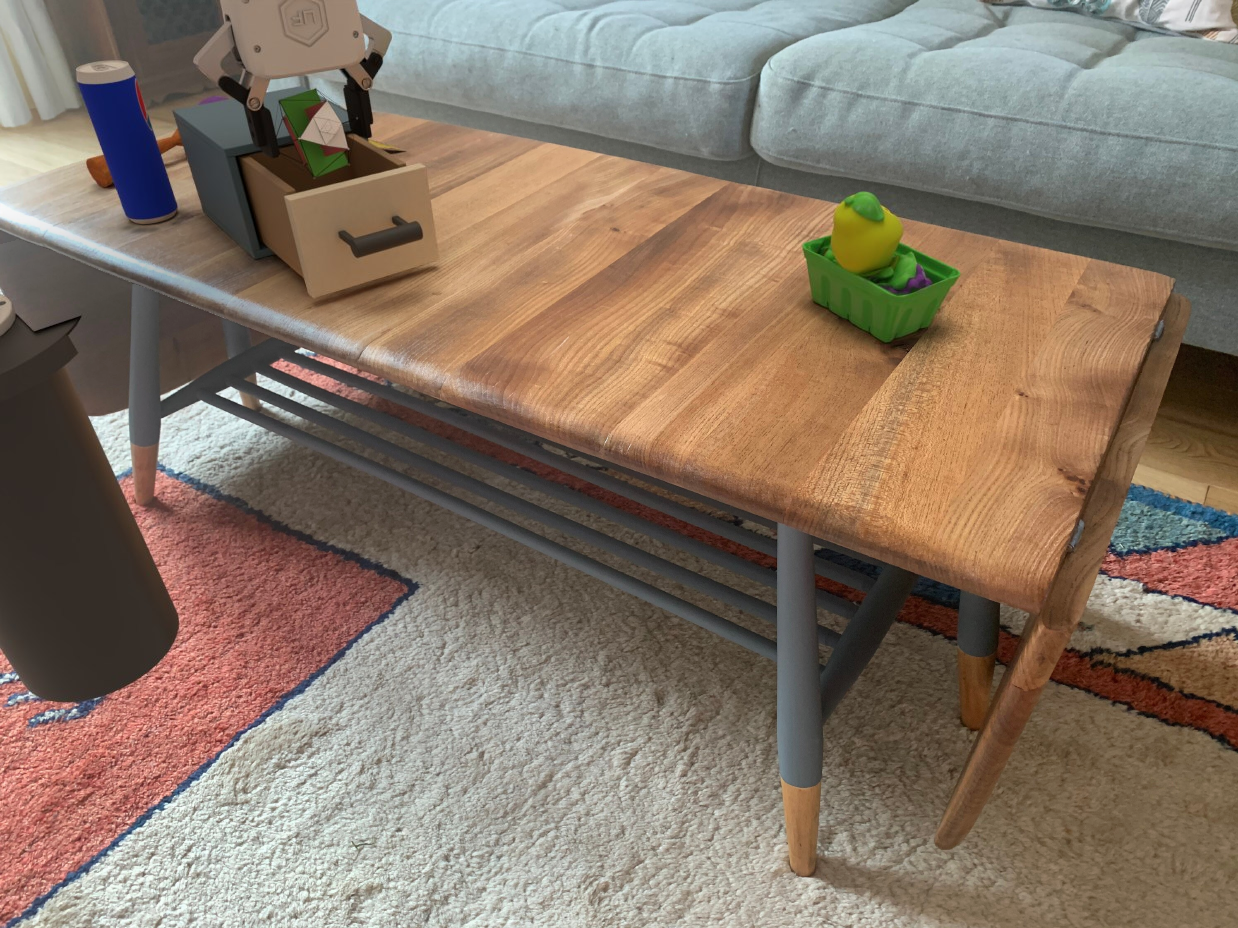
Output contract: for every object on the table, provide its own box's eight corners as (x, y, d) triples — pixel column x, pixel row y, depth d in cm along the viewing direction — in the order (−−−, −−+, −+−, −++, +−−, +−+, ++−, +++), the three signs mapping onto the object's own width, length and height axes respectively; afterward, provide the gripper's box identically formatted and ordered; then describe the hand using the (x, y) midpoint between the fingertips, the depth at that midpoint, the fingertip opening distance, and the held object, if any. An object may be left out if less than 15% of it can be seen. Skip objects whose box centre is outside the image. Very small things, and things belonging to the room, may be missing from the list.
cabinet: (384, 224, 93) (365, 119, 86) (254, 260, 86) (223, 149, 80) (323, 182, 102) (302, 85, 96) (203, 211, 96) (171, 110, 90)
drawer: (462, 275, 81) (450, 179, 75) (333, 317, 75) (310, 216, 69) (371, 213, 93) (355, 127, 87) (253, 245, 87) (228, 154, 81)
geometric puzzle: (245, 146, 79) (265, 77, 73) (304, 125, 84) (328, 59, 78) (302, 206, 79) (326, 142, 73) (358, 182, 84) (385, 120, 78)
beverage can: (187, 215, 95) (140, 65, 86) (139, 229, 92) (84, 76, 83) (167, 203, 98) (118, 57, 89) (119, 216, 95) (64, 66, 86)
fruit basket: (953, 329, 74) (985, 195, 67) (875, 359, 70) (900, 221, 63) (855, 277, 81) (875, 153, 75) (780, 303, 78) (793, 174, 71)
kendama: (69, 147, 101) (215, 91, 113) (98, 198, 104) (237, 138, 117) (95, 146, 98) (242, 88, 110) (123, 199, 101) (263, 137, 113)
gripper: (166, -75, 62) (233, 177, 72) (395, -92, 70) (425, 135, 81) (136, -85, 66) (203, 153, 77) (355, -100, 75) (388, 116, 86)
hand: (316, 143), depth 79 cm, fingers closed on geometric puzzle, 7 cm apart
